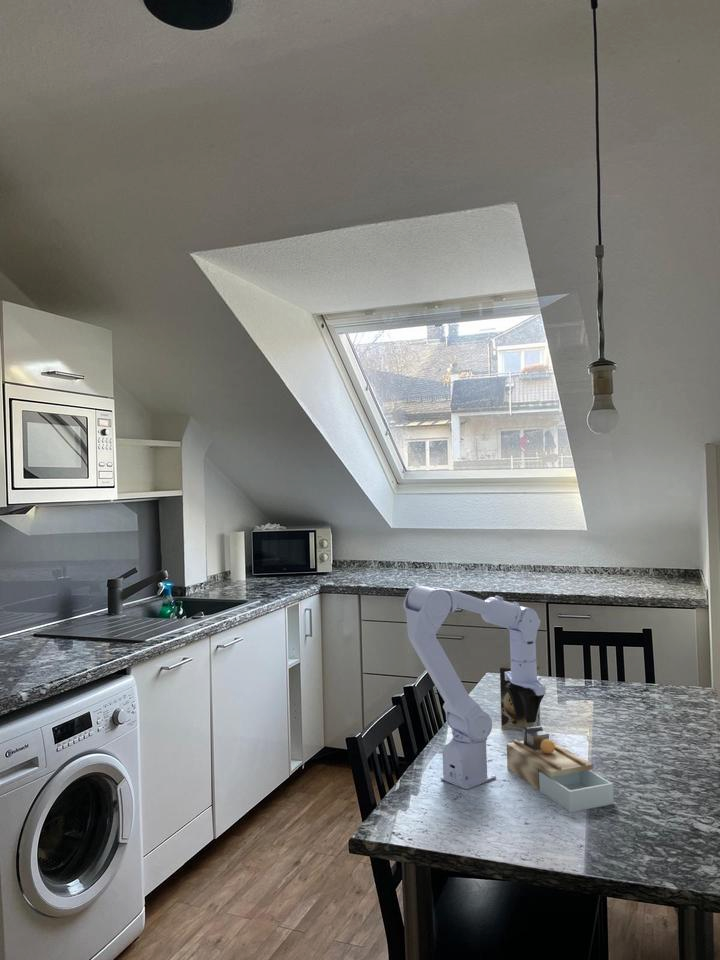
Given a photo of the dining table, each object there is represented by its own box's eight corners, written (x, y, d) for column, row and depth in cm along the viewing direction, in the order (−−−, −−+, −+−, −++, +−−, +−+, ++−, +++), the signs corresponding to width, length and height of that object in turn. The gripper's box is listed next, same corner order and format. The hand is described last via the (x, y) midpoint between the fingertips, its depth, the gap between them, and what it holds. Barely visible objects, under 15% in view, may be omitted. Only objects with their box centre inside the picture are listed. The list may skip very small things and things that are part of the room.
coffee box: (500, 729, 194) (498, 667, 194) (507, 721, 200) (505, 661, 200) (535, 733, 190) (533, 670, 190) (541, 726, 195) (539, 664, 196)
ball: (549, 757, 158) (548, 742, 158) (537, 753, 161) (537, 739, 161) (557, 753, 160) (557, 739, 160) (546, 749, 163) (546, 736, 163)
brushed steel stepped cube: (523, 744, 166) (523, 728, 166) (540, 741, 167) (540, 725, 167) (532, 750, 162) (532, 733, 162) (550, 747, 164) (549, 730, 164)
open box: (539, 790, 155) (538, 771, 155) (580, 783, 158) (580, 764, 158) (570, 812, 144) (569, 791, 144) (613, 803, 147) (613, 783, 147)
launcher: (507, 768, 167) (506, 740, 168) (546, 761, 171) (545, 734, 171) (552, 799, 150) (550, 768, 150) (594, 791, 154) (592, 761, 154)
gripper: (556, 664, 164) (559, 726, 164) (522, 650, 177) (524, 707, 177) (528, 667, 161) (531, 730, 161) (495, 654, 175) (498, 711, 175)
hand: (525, 719), depth 169 cm, fingers open, 4 cm apart
